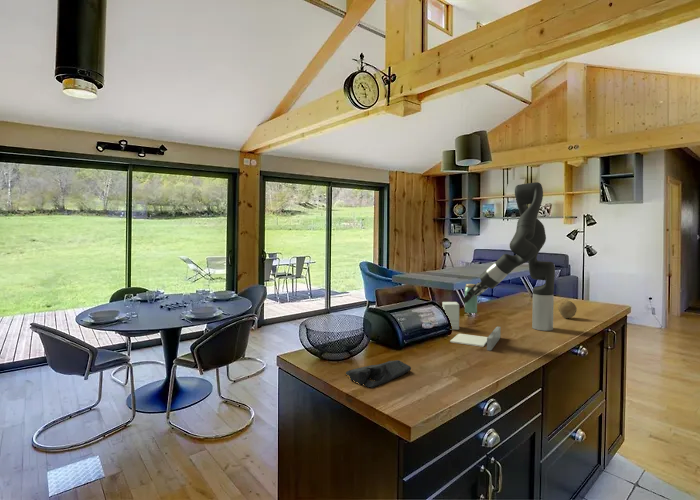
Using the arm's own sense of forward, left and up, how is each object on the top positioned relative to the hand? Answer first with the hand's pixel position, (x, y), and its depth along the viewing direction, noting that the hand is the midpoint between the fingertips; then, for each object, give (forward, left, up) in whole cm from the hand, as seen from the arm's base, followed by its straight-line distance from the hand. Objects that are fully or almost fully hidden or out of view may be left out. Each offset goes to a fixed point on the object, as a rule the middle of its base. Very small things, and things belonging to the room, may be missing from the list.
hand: (466, 300), depth 172 cm
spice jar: (0, +2, -5) cm, 5 cm away
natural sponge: (-69, +38, -18) cm, 80 cm away
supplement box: (-18, -12, -18) cm, 28 cm away
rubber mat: (0, +2, -18) cm, 18 cm away
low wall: (0, +12, -18) cm, 21 cm away
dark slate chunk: (+57, -15, -19) cm, 62 cm away
